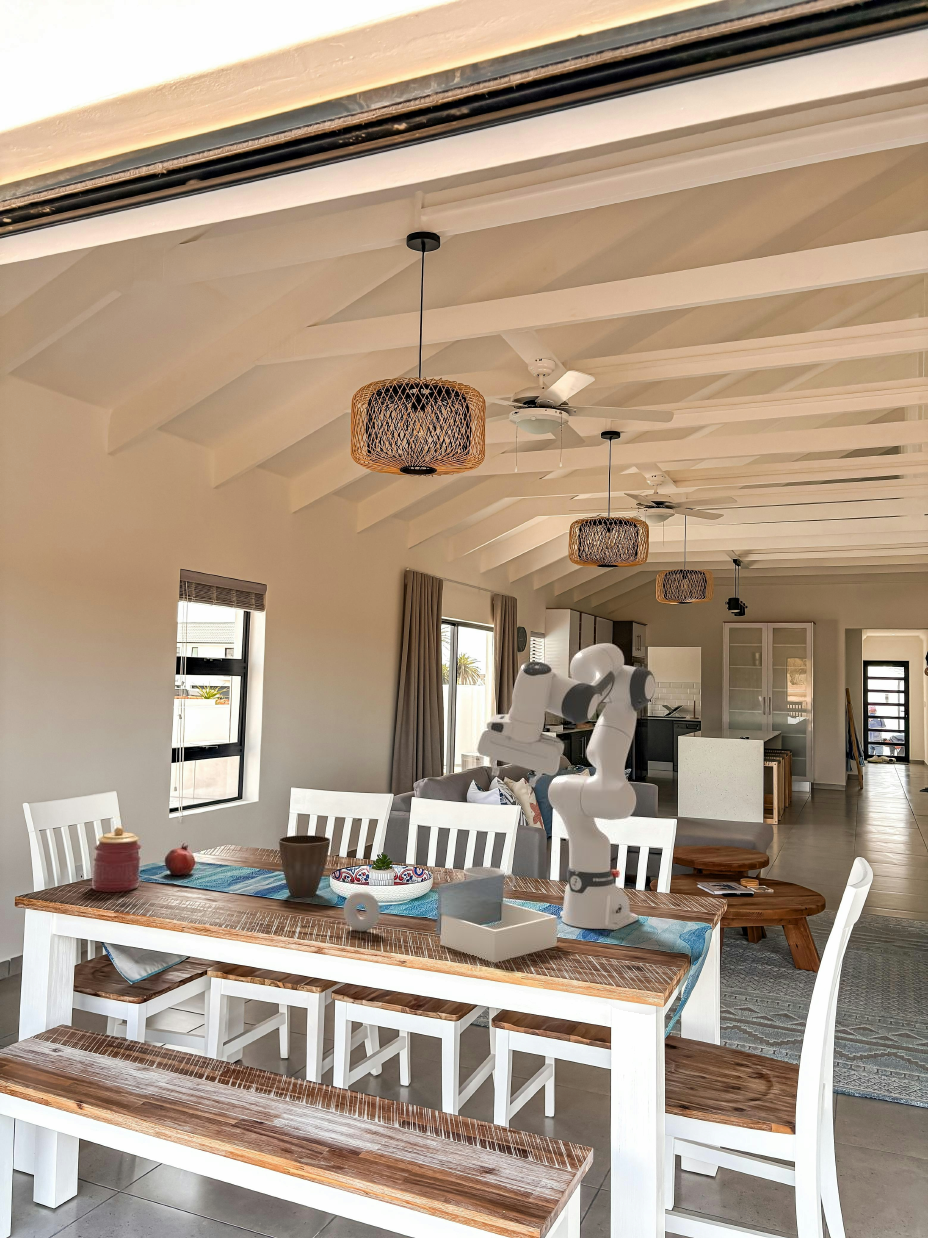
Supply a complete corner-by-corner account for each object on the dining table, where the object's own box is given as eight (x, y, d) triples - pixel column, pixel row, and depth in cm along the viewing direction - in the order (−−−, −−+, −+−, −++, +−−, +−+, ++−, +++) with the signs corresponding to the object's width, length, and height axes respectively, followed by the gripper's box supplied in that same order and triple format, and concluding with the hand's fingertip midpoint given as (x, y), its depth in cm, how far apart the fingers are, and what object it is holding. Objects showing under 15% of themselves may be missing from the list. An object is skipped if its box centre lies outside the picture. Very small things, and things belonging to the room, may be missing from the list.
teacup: (511, 914, 245) (512, 877, 246) (458, 910, 248) (459, 873, 249) (517, 904, 257) (518, 869, 258) (466, 900, 260) (468, 865, 261)
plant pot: (300, 903, 250) (303, 845, 251) (265, 894, 259) (268, 839, 260) (338, 895, 262) (341, 839, 263) (303, 886, 271) (306, 833, 272)
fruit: (157, 876, 278) (159, 844, 279) (176, 870, 287) (177, 839, 288) (183, 879, 276) (184, 846, 276) (200, 873, 285) (202, 841, 285)
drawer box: (556, 946, 217) (557, 916, 217) (494, 963, 201) (495, 931, 202) (503, 929, 230) (503, 902, 230) (440, 944, 214) (441, 915, 215)
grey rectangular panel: (502, 920, 230) (503, 874, 231) (439, 934, 215) (441, 885, 216) (496, 918, 232) (497, 873, 232) (433, 932, 216) (435, 884, 217)
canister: (128, 893, 255) (132, 831, 256) (83, 892, 255) (87, 829, 256) (145, 884, 267) (149, 824, 269) (103, 882, 268) (106, 822, 269)
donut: (381, 932, 223) (383, 891, 224) (374, 935, 220) (376, 894, 221) (347, 927, 227) (348, 887, 228) (340, 930, 224) (341, 889, 225)
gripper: (568, 736, 215) (556, 788, 218) (488, 713, 220) (478, 764, 223) (563, 744, 209) (551, 797, 212) (481, 721, 214) (470, 773, 217)
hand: (513, 780), depth 218 cm, fingers open, 8 cm apart
